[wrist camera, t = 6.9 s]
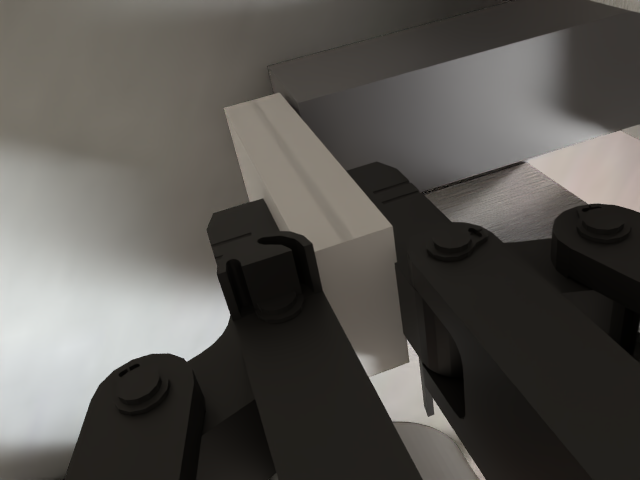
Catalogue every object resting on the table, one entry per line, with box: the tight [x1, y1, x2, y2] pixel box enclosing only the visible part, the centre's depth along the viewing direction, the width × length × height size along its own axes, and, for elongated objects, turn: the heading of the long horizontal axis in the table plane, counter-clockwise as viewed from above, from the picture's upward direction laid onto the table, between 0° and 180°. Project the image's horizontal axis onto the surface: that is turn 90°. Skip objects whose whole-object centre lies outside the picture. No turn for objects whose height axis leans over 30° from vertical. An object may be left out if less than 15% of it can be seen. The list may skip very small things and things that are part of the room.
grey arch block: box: [424, 0, 640, 332], centre depth 12 cm, size 4×15×10 cm, turn 10°
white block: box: [268, 0, 640, 192], centre depth 14 cm, size 14×5×8 cm, turn 100°
